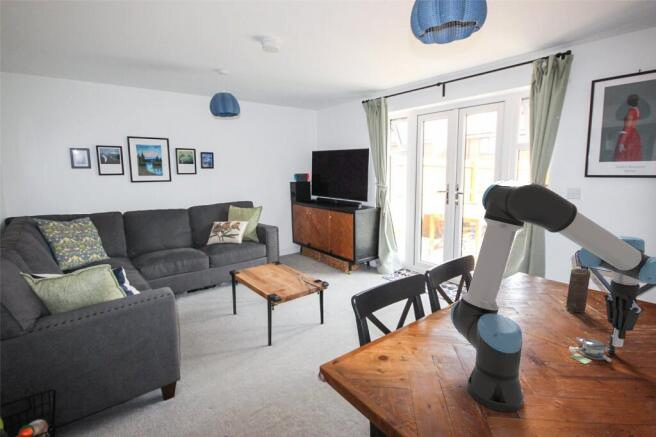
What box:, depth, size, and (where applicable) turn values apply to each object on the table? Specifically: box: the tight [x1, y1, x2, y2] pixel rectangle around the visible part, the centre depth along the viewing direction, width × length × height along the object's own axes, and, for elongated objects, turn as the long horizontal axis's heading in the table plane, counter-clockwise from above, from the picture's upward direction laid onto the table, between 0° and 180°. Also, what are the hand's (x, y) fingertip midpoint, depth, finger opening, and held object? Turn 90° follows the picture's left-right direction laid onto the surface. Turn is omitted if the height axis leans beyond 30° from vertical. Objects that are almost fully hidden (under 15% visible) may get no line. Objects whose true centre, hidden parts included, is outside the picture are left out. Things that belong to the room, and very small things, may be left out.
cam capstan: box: [568, 334, 617, 363], centre depth 119 cm, size 15×17×7 cm
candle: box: [565, 268, 591, 313], centre depth 154 cm, size 8×7×20 cm
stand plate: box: [569, 351, 605, 365], centre depth 119 cm, size 20×13×1 cm, turn 114°
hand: (617, 345), depth 117 cm, fingers closed
